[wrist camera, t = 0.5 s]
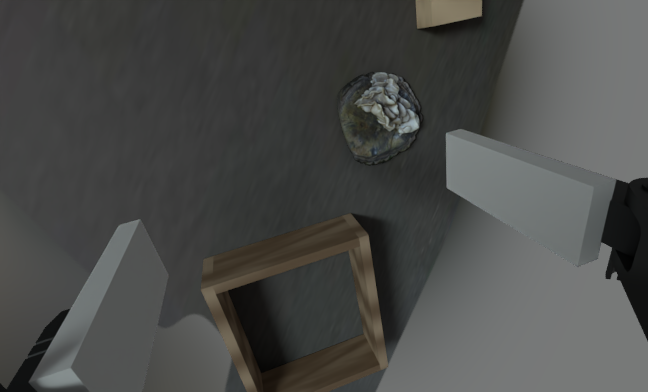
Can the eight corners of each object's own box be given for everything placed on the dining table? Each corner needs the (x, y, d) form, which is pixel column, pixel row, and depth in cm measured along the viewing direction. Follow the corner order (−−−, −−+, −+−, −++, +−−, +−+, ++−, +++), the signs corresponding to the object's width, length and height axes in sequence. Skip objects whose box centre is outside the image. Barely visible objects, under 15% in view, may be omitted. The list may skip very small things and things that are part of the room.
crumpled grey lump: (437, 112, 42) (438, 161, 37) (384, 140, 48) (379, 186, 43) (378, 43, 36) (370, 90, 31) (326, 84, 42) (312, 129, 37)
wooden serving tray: (203, 259, 40) (201, 289, 35) (350, 213, 44) (368, 234, 39) (255, 381, 51) (259, 419, 45) (371, 336, 54) (388, 366, 49)
